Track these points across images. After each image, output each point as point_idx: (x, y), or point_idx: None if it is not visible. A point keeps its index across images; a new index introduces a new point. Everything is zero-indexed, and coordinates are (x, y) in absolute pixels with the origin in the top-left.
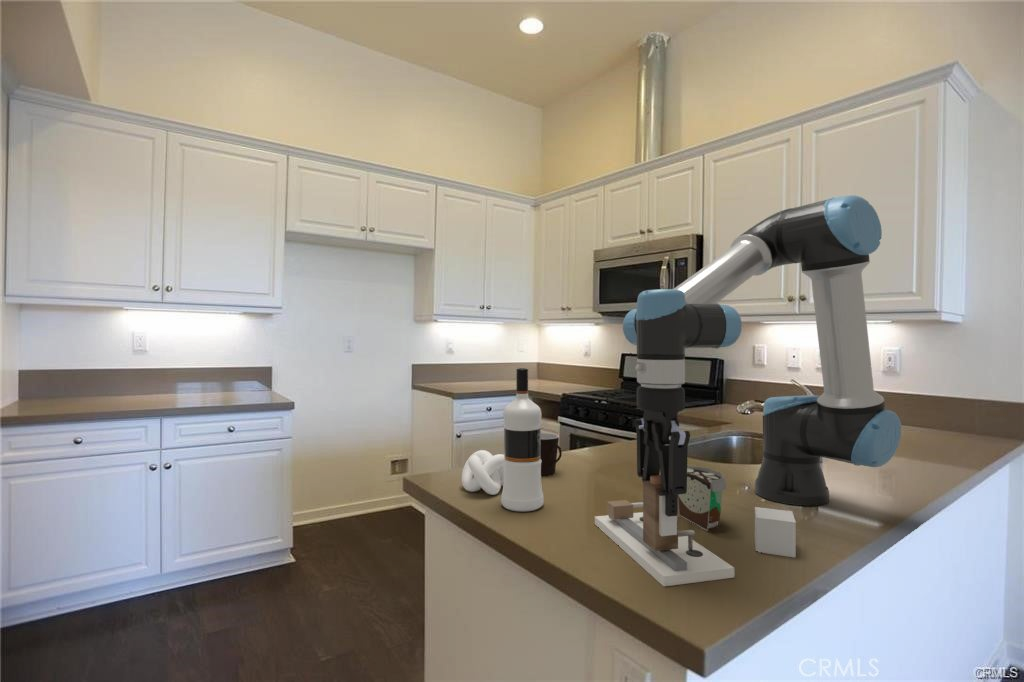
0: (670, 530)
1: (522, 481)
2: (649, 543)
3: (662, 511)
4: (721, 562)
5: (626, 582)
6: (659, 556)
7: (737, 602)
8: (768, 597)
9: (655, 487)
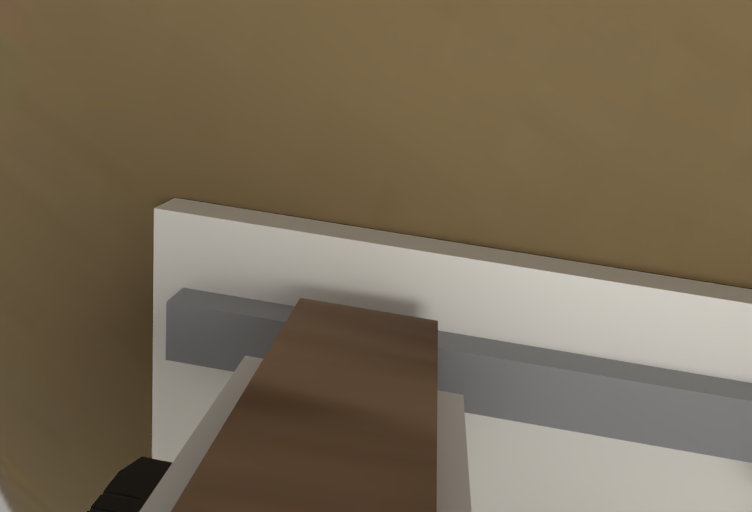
0: None
1: None
2: (362, 315)
3: (179, 461)
4: None
5: (258, 60)
6: None
7: (9, 363)
8: (21, 473)
9: None
